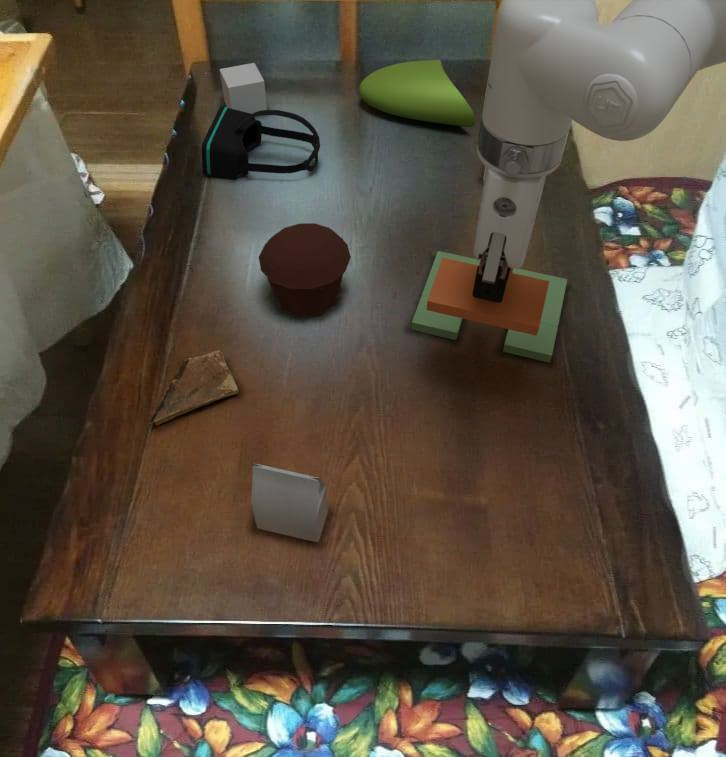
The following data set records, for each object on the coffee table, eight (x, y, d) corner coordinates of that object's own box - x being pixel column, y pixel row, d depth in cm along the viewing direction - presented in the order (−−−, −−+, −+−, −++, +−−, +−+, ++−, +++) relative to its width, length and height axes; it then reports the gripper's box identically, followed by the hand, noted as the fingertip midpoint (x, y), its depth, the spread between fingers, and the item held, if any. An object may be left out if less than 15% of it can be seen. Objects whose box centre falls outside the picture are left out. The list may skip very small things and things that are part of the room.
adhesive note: (233, 121, 123) (228, 87, 118) (224, 102, 126) (219, 69, 121) (267, 113, 124) (264, 80, 119) (258, 95, 128) (254, 62, 123)
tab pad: (552, 264, 84) (567, 212, 78) (536, 336, 77) (552, 285, 71) (450, 242, 86) (457, 190, 80) (426, 310, 79) (432, 259, 73)
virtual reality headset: (222, 133, 120) (220, 78, 112) (323, 155, 120) (329, 101, 112) (202, 175, 113) (199, 119, 105) (309, 198, 113) (314, 144, 105)
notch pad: (565, 286, 100) (567, 279, 99) (549, 363, 92) (552, 355, 91) (436, 258, 103) (437, 250, 102) (410, 329, 95) (411, 322, 94)
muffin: (281, 335, 94) (274, 280, 86) (251, 279, 100) (242, 223, 92) (364, 307, 97) (365, 251, 89) (331, 254, 103) (329, 197, 95)
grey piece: (318, 542, 77) (314, 496, 69) (257, 528, 78) (246, 481, 70) (327, 512, 79) (325, 464, 71) (268, 498, 80) (258, 449, 72)
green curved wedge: (482, 48, 120) (361, 45, 123) (476, 102, 115) (350, 98, 118) (479, 86, 127) (366, 83, 130) (474, 139, 122) (355, 135, 125)
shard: (152, 429, 85) (149, 420, 84) (135, 382, 89) (131, 372, 88) (240, 397, 88) (239, 388, 87) (220, 352, 92) (217, 343, 91)
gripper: (551, 204, 59) (511, 351, 73) (576, 97, 68) (536, 245, 83) (459, 186, 60) (438, 333, 75) (497, 83, 69) (471, 232, 84)
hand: (490, 286), depth 79 cm, fingers closed on tab pad, 2 cm apart
